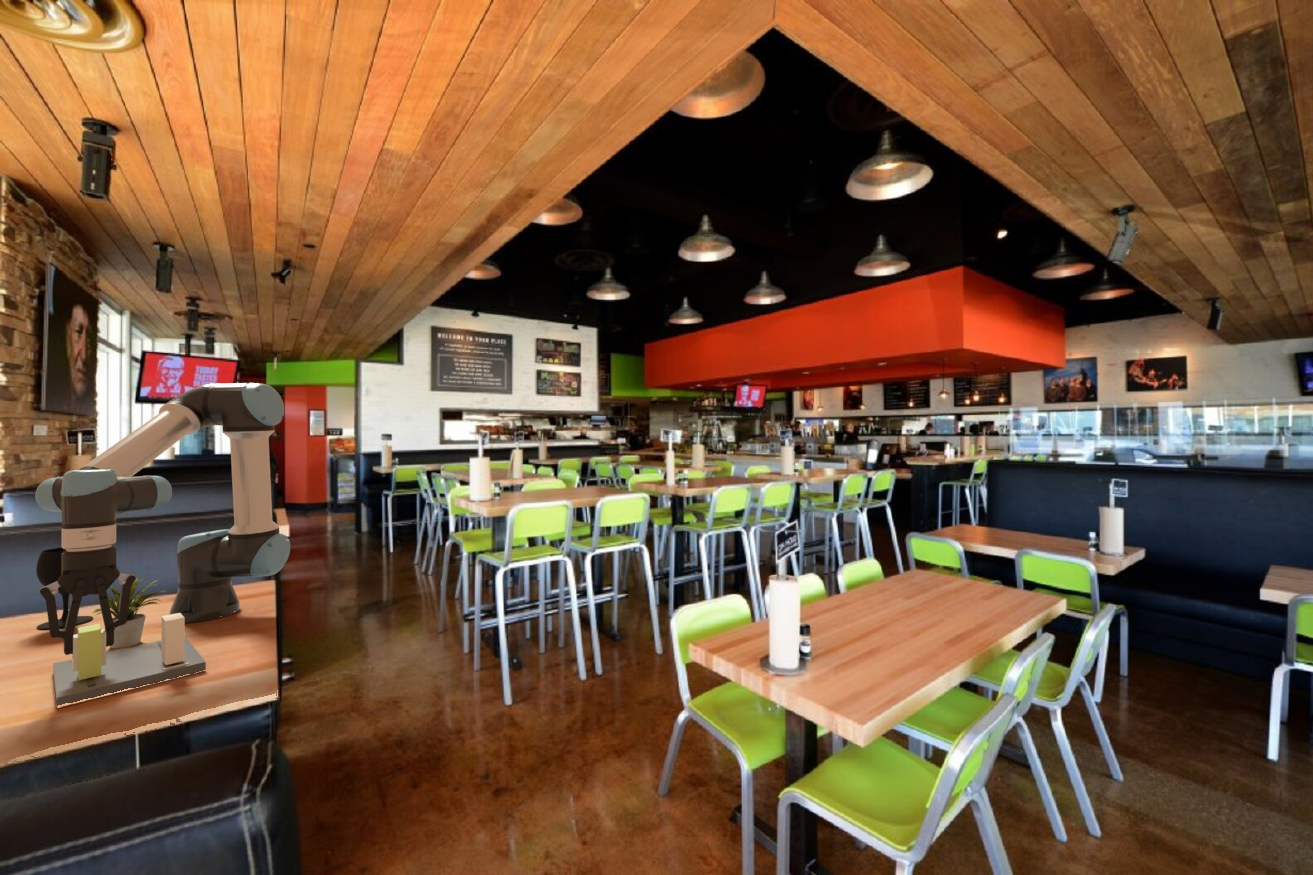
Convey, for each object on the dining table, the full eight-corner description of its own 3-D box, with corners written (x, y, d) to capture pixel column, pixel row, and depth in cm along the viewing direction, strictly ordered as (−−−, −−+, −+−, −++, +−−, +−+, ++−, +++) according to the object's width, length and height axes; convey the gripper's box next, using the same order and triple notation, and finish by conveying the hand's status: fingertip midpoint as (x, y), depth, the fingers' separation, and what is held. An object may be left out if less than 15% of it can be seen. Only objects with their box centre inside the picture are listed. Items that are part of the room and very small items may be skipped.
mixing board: (184, 643, 130) (184, 634, 130) (205, 671, 114) (205, 660, 114) (53, 672, 114) (53, 662, 114) (56, 708, 98) (56, 696, 98)
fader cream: (180, 654, 117) (180, 612, 117) (184, 660, 113) (184, 617, 114) (161, 658, 114) (161, 616, 115) (165, 665, 111) (165, 621, 111)
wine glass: (91, 614, 153) (91, 543, 153) (95, 622, 146) (95, 548, 146) (35, 624, 145) (35, 549, 145) (37, 632, 138) (37, 554, 138)
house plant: (108, 660, 120) (108, 586, 120) (61, 655, 123) (61, 583, 123) (176, 637, 134) (176, 571, 134) (133, 633, 137) (133, 569, 137)
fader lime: (99, 668, 110) (99, 623, 110) (101, 674, 107) (101, 629, 107) (77, 672, 108) (77, 627, 108) (79, 680, 104) (79, 633, 104)
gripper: (27, 556, 99) (26, 685, 99) (147, 543, 111) (147, 658, 111) (27, 551, 104) (26, 674, 104) (142, 539, 116) (142, 649, 116)
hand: (89, 666), depth 107 cm, fingers closed on fader lime, 3 cm apart
